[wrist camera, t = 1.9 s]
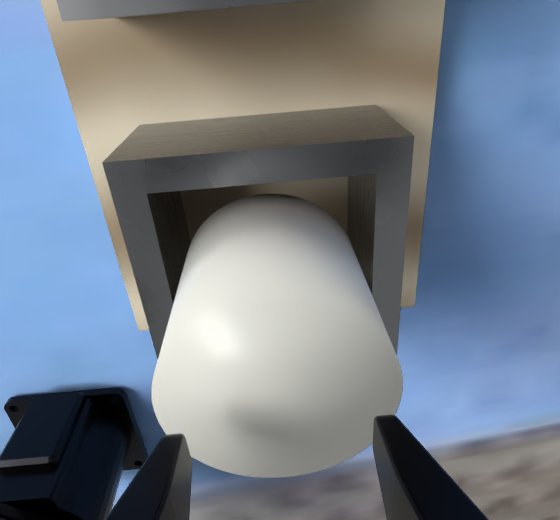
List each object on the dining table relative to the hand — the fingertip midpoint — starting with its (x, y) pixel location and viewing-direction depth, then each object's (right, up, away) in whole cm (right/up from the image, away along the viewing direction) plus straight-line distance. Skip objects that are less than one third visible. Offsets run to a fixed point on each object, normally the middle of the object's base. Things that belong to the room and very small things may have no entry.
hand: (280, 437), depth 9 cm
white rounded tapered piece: (0, +3, +6) cm, 6 cm away
